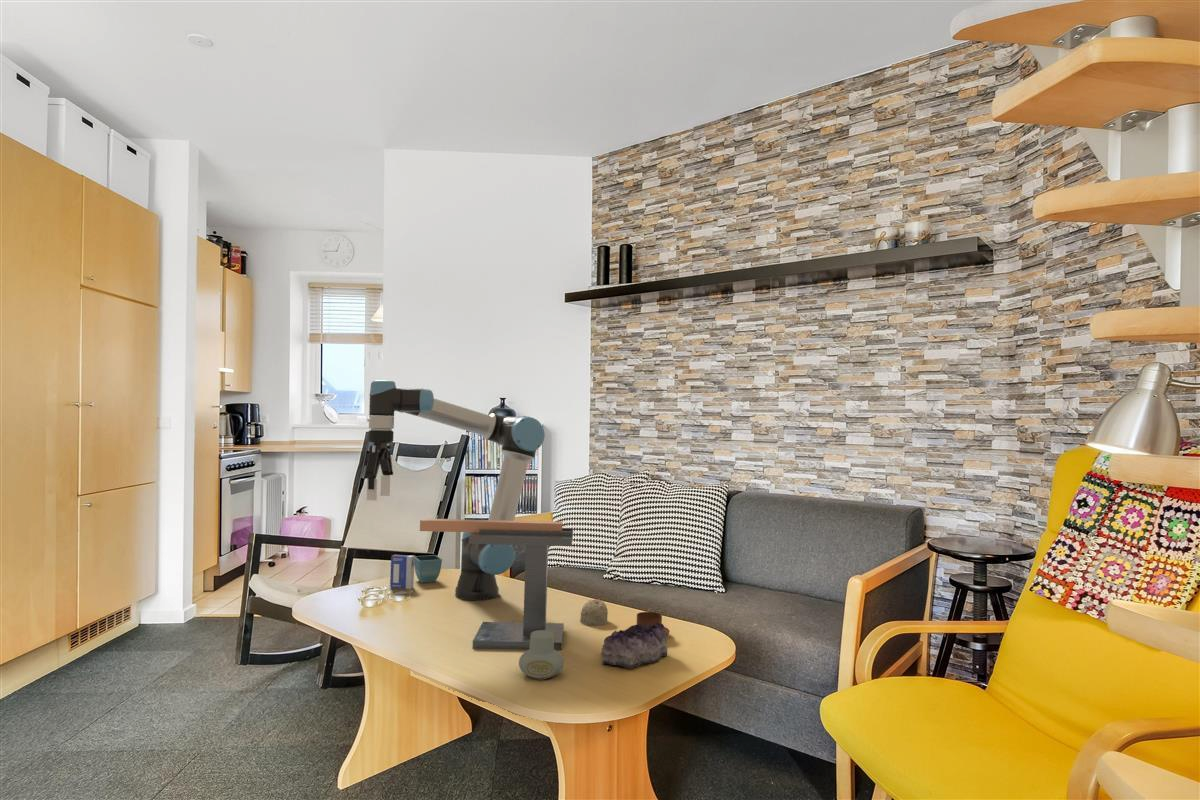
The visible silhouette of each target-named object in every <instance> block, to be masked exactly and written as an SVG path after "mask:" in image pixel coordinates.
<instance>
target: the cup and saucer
mask: <svg viewBox="0 0 1200 800" xmlns="http://www.w3.org/2000/svg"><path fill="white" fill-rule="evenodd" d="M662 618H663V615H662V614H661V613H658V612H653V611H643V612H638V613H637V614H636V625H637V624H638V625H642V626H644V625H645V624H647V625H649V626H653V625H655V626H656V625H657V624H658V623H660V625H661V624H663V622H662V621H663V620H662ZM630 627H633V625H630V626H629V627H628V628H629V629H630ZM664 630H665V633H666V636H667V637H668V635H670V629H669V628H668V627H666V626H664Z"/></svg>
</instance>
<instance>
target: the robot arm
mask: <svg viewBox="0 0 1200 800" xmlns="http://www.w3.org/2000/svg"><path fill="white" fill-rule="evenodd" d="M396 385H397V384H396V382H395V381H394V380H388V379H387V380H384V379H382V380H381V379H375V380H373V381H372V382H371V383H370V389H369V405H368V406H369V409H368V412H369V414H368V418H367V423H368V428H369V429H370V430H368V435H367V442H369V443H373V445H370V446H369V451H368V457H367V463H366V469H365V473H364V476H363V477H364V479H365V480H367V482H366V485H367V487H366V501H377V498H378V497H377V496H378V491H377V490H378V478H377V475H378V472H379V469H380V470H381V475H380V495H379V496H381V497H382V496H383V497H389V496H390V494H391V493H390V489H391V476H394V471H393V464H392V463H393V462H392V453H391V449H392V447H391V446H392V445H391V443H393V441H394V428H395V412H399V413H403V414H404V413H405V414H407V415H411V416H416V417H419V418H421V419H425V420H429V421H433V422H436V423H439V424H442V425H446V426H449V427H453V428H456V429H460V430H463V431H466V432H470V433H473V434H476V435H479V436H482V437H483V439H484V440H487V441H490V442H493V443H495V444H498V445H500V446H501V452H502V454H503V457H504V458H503V461H502V464H501V469H500V473H499V477H498V481H497V484H496V489H495V492H494V496H493V500H492V503H491V508H490V511H489V516H488V519H487V520H508V521H515V519H516V518H515V517H516V515H517V510H518V506H519V502H520V497H521V495H522V490H523V487H524V482H525V478H526V475H527V474H526V473H527V470H528V467H529V463H530V462H531V461H533V460H534V459H535V456H536V452H537V450H538V449H539V448H540V447H541V446H543V444H544V440H545V435H546V434H545V429H544V426H543V425H542V423H541V421H539V420H537V418H535V417H530V416H526V415H522V416H507V415H506V416H505V415H498V414H495V413H490V414H487V413H482V412H479V411H476V410H474V409H473V410H472V409H469V408H466V407H462V406H460V405H456V404H453V403H449V402H446V401H443V400H440V399H438V398H435V397H434V393H433V390H432V389H428V388H427V389H426V388H415V387H414V388H411V387H410V388H409V387H407V388H406V387H404V388H403V387H397V386H396ZM389 443H390V444H389ZM472 533H473V532H462V535H461V536H462V538H461V557H460V558H461V565H460V568H461V569H460V574H459V575H460V576H459V579H458V581H457V585H456V586H455V590H454V591H455V593H454V596H455V597H456V598H458V599H462V600H470V601H472V600H473V601H479V600H480V601H481V600H484V601H485V600H490V599H494V598H496V597H498V596H499V591H500V590H499V586H498V583H497V579H496V576H499V575H502V574H504V573H505V572H507V571H509V570H510V569H511V567H512V566H513V564H514V561H515V559H516V552H515V548H514V547H513V546H514V545H498V544H469V536H470V535H471V534H472Z"/></svg>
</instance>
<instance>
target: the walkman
mask: <svg viewBox="0 0 1200 800" xmlns="http://www.w3.org/2000/svg"><path fill="white" fill-rule="evenodd" d="M415 556H416V555H411V554H410V555H404V554H393V555H391V557H390V580H389V588H390V587H391V588H390V589H394V588H403V589H402V590H412V589H413V588H414V585H415V584H414V581H415V580H414V579H415V567H414V557H415ZM411 588H412V589H411Z"/></svg>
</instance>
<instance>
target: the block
mask: <svg viewBox="0 0 1200 800" xmlns="http://www.w3.org/2000/svg"><path fill="white" fill-rule="evenodd" d="M562 528H563V521H548V520H547V521H545V520H544V521H543V520H541V521H540V520H539V521H538V520H537V521H536V520H534V521H533V520H514V521H508V520H488V519H466V518H465V519H463V518H462V519H461V518H460V519H459V518H458V519H457V518H456V519H455V518H425V517H423V518H422V519H420V520H419V532H437V533H439V532H440V533H442V532H443V533H447V532H448V533H463V532H478V533H480V529H485V530H528V531H562Z"/></svg>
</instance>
